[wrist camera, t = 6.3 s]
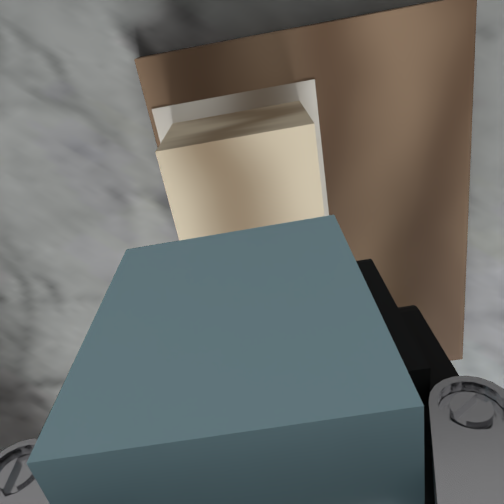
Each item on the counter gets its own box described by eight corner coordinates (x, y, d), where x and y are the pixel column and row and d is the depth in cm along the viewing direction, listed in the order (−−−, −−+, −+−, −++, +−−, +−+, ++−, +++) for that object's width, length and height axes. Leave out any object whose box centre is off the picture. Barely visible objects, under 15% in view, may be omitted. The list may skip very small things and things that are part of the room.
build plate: (464, -5, 21) (478, -6, 20) (454, 346, 30) (463, 359, 29) (139, 57, 22) (133, 59, 21) (223, 380, 31) (223, 394, 30)
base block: (299, 100, 22) (314, 123, 17) (313, 218, 24) (329, 264, 20) (172, 123, 22) (155, 151, 18) (200, 237, 25) (191, 286, 20)
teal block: (334, 214, 11) (423, 405, 6) (350, 376, 13) (425, 621, 8) (126, 249, 11) (25, 462, 6) (177, 402, 14) (137, 656, 8)
